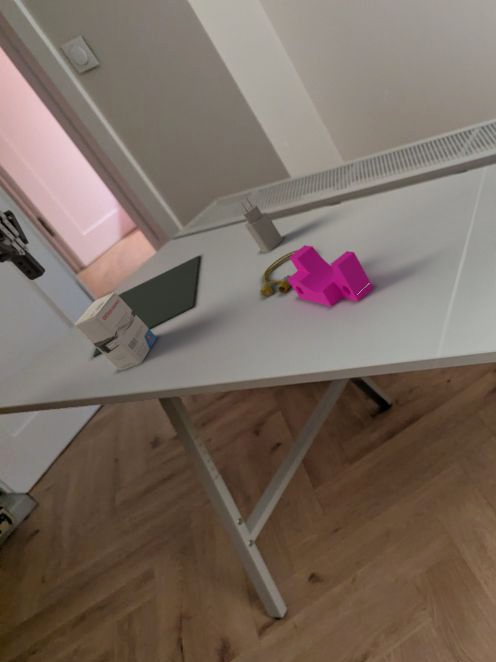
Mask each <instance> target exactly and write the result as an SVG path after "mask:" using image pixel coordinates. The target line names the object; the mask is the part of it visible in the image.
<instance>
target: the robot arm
mask: <svg viewBox="0 0 496 662" xmlns="http://www.w3.org/2000/svg"><path fill="white" fill-rule="evenodd" d="M29 243H30V242H29V239H28V238H27V236H26V234H25V232H24V231H23V229H22V227H21V225H20V223H19V221H18V219H17V217H16V215H15V213H14V212H13V211H11V210H10V209H8V210H5V211H4V212H3V211H2V210H1V209H0V264H4V263H5V262H8V263H12V264H13V265H14V266H15V267H16V268H17V269H18V270H19V271H20V272H21V273H22V274H23V275H24V276H25V277H26V278H27V279H28V280H31V281H34V280H37V279H39V278H41V277H42V276H43V275H44V274H45V273H46V268H44V267H43V265H42V264H41V263H40V262H39V261H38V260H37V259H36V258H35V257H34V255H32V254H31V253H30V252H29V250H30V249H29V247H28V246H27V245H28V244H29Z"/></svg>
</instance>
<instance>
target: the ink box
mask: <svg viewBox="0 0 496 662" xmlns="http://www.w3.org/2000/svg"><path fill="white" fill-rule="evenodd" d="M118 295H119V294H118V293H117V292H112V293H110V294H107V295H105V296H102V297H100V298H98V299H95V300H94V301H93V302H92V303H91V305H89V306H88V308H87V309H86V310H85V311H84V312H83V314H81V316H80V317H79V318H78V319H77V321H76V322H75V323H74V324H73V325H74V327H75V328H76V329H77V330H78V331H80V333H81V334H83V335H84V336H85V337H86V338H87V339H88V340H89V342H90V343H92V344H93V345H94V347H95V348H98V349H99V350H100V351H101V352H102V354H103V355H104V356H105V357H106V358H107V359H108V361H110V362H111V363H112V364H113V365H114V366H115V368H117V369H118V370H119V371H124V370H126V369H129V368H131V367H135V366H138V365H141V364H142V363H143V361H144V360H145V358H146V356H147V355H148V353H149V352H150V350H151V349H152V347H153V345H154V344H155V342H156V340H157V338H158V337H157V336H156V335H155V334H154V333H153V331H152V329H149V328H148V327H147V326H146V325H145V324H144V323H143V322H142V321H141V320H140V318H139V317H138V316H137V315H136V314H135V313H134V312H133V311H132V310H131V309H130V308H129V306H128V305H127V304H126V303H125V302H124V301H123V300H122V299H121V298H120V297H119V296H118Z"/></svg>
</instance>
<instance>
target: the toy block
mask: <svg viewBox="0 0 496 662" xmlns="http://www.w3.org/2000/svg"><path fill="white" fill-rule="evenodd" d="M297 250H298V251H296V250H295V251H296V252H295V253H294V254H293V253H292V255H291V254H290V255H291V256H290V257H289V258H290V259H289V258H288V259H289V260H290V261H291V262H292V264H293V266H294V267H295V269H296V270H297V271H295V272H294V273H293V274H291V275H290V276H291V277H289V278H288V281H289V282H290V284H291V285H290V286H291V287H292V289H293V290H294V292H295V293H296V295H297V297H298V298H299V299H302V300H306V301H310V302H314V303H318V304H322V305H324V306H325V305H326V306H329V307H333V306H334V305H335V304H336V303H338V301H340V300H341V299H347V300H351V301H355V302H360V300H361V299H363V298H364V297H365V296H367V294H368V293H370V292H371V291H372V290H373V289H374V286H373V284H372V282H371V281H370V279H369V277H368V275H367V273H366V271H365V269H364V268H363V265H362V264H361V261H360V260H359V258H358V256H357V255H356V252H355V251H349V250H346V251H345V252H343V254H341V255H340V256H339V257H338V258H337V259H335V260H334V261H333V262H331V263H328V262H327V261H326V260H325V259H324V258H323V257H322V256H321V255H320V254H319V252H318V251H317V250H316V249H315V247H314V246H312V245H306V244H304V245H303V246H302V247H300V248H299V249H297ZM368 283H370V284H369V285H368V286H367V287H366V288H364V287H365V286H366V285H367V284H368ZM363 288H364V289H363ZM362 289H363V290H362ZM361 290H362V291H361ZM360 291H361V292H360ZM359 292H360V293H359ZM358 293H359V294H358ZM357 294H358V295H357Z"/></svg>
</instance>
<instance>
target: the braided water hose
mask: <svg viewBox="0 0 496 662" xmlns="http://www.w3.org/2000/svg"><path fill="white" fill-rule="evenodd" d="M298 250H299V249H296V250H293V251H290V252H288V253H286V254H284V255H282V256H281V257H279V258H278V259H277V260H275V261H274V262H272V263H271V264H270V265H269V266H268V267H267V268H266V270H264V273H263V283H262V284H261V287H260V289H261V290H260V295H261V296H264V297H265V298H267V297H270V296H272V295H274V290H273V288H272V285H279V286H278V288H277V290H278V292H279V293H281V294H285V293H287V292H288V290H289V289H290V288H291V286H292V285H291V284H290V282H289V281H288V278H289V277H291V276H292V275H286V276H284V277H283V278H281V279H280V280H273V281H271V280H268V279H269V276H270V274H271V273H272V272H273V270H274V269H276V268H277V267H278V266H280V265H282V264H283V263H285V262H287V261H289V260H291V259H290V258H289V257H290V256H291V255H292V254H294V253H295V252H296V251H298Z"/></svg>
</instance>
